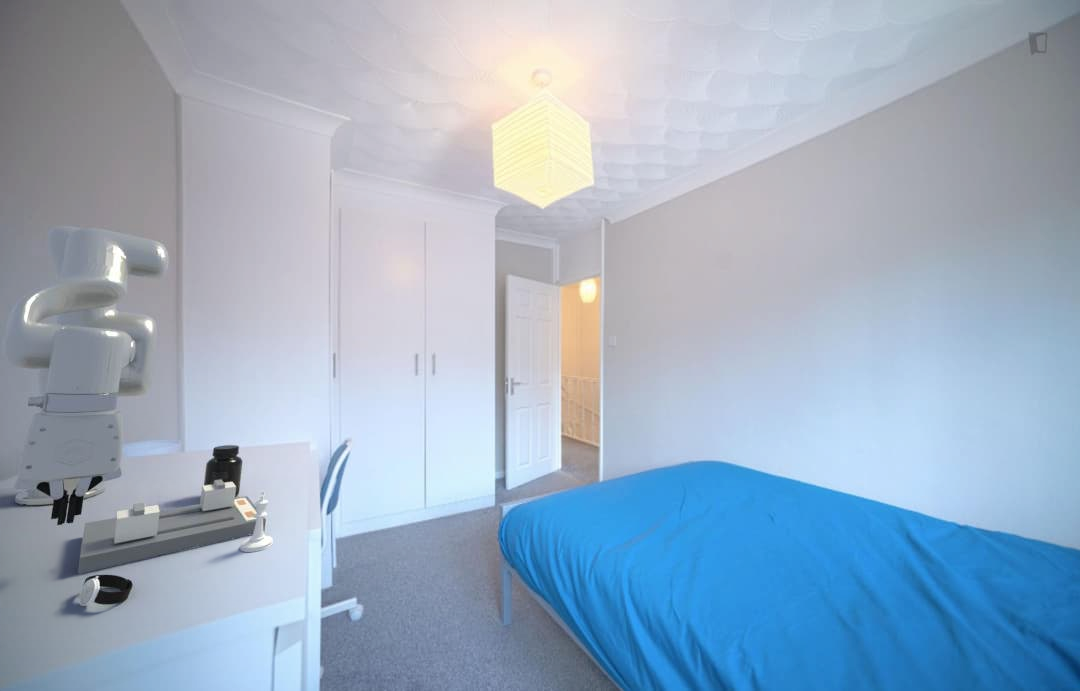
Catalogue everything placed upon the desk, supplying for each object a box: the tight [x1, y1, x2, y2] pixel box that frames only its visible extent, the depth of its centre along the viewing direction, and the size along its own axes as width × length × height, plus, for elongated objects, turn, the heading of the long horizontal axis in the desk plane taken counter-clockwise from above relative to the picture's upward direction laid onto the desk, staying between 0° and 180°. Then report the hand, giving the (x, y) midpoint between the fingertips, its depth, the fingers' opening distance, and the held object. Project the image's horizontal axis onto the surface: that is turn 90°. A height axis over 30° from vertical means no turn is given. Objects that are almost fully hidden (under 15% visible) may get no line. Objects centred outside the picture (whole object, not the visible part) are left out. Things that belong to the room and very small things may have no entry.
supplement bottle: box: [203, 444, 243, 498], centre depth 92 cm, size 7×7×12 cm
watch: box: [78, 574, 134, 607], centre depth 54 cm, size 8×5×4 cm, turn 67°
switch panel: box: [77, 495, 267, 575], centre depth 73 cm, size 16×24×3 cm, turn 138°
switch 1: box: [114, 502, 161, 544], centre depth 66 cm, size 4×5×5 cm
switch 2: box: [199, 479, 236, 511], centre depth 81 cm, size 4×5×5 cm
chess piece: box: [239, 490, 274, 553], centre depth 72 cm, size 5×5×10 cm
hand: (65, 521), depth 60 cm, fingers closed
